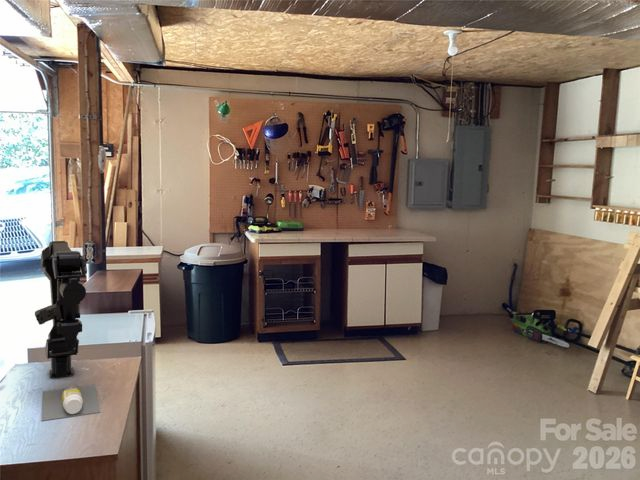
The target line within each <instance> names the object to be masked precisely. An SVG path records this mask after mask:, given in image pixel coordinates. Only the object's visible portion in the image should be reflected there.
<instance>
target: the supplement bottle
mask: <svg viewBox="0 0 640 480" xmlns="http://www.w3.org/2000/svg"><path fill="white" fill-rule="evenodd" d="M76 387H77V386H70V387H66V388H67V389H66V390H64V392H63V394H62V401H63V407H64V409H65V410H66V411H67V412H68V413H70V414H75V413H77V412H79V411H80V410H81V408H82V403H83V400H82V396H81V392H80V390H79V389H78V388H76Z"/></svg>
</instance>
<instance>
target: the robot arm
mask: <svg viewBox="0 0 640 480" xmlns="http://www.w3.org/2000/svg"><path fill="white" fill-rule="evenodd" d="M40 266H41V268H42V269H43V274H44V276H45V277H46V278H47V279H48V280H49V287H50V301H51V304H50V305H47V306H46V307H42V308H40V309H37V310H35V311H34V316H35V318H36V319H35V320H36V321H37V323H38V325H43V324H45V323H47V322H50V321H52V327H51V329H50V331H49V333H48V335H47V337H48V338H47V339H46V342H45V346H44V349H45V350H44V351H45V353H44V354H45V357H46V359H48V360H49V359H50V365H51V366H50V370H49V378H50V379H55V378H65V377H71V376H74V369H73V367H72V356H77V355H78V354H79V344H80V340H79V339H78V335H79V333H82V332H83V322H82V321H81V320H80V318H81V308H80V307H81V302H82V301H83V300H84V299H85V297H86V295H87V289H86V287H85V286H84V285H83V284H82V282H81V278H86V277H87V276H86V275H87V273H88V269H87V268H88V267H87V264H86V259H85V257H84V256H83V255H81V252H80V251H78V250H71V248H70V246H69V244H68V241H65V240H52V241H49V243H48V246H47V247H45V248H44V249H43V250H41V255H40Z"/></svg>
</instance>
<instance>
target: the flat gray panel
mask: <svg viewBox="0 0 640 480" xmlns="http://www.w3.org/2000/svg"><path fill="white" fill-rule="evenodd" d="M75 387H76V388H78V389H79V390H80V392H81V396H82V400H83V403H82V408H81V410H80V411H79V412H77V413H75V414H70V413H68V412H67V411H66V410H65V409H64V407H63V401H62V394H63V392H64V390H66V389H67V388H68V387H66V388H57V389H49V390H43V391H42V399H41V418H40V421H41V422H45V421H46V422H47V421H53V420H59V419H60V420H61V419H65V418H66V419H67V418H73V417H80V416H85V415H87V416H88V415H92V414H93V415H94V414H100V413H101V408H100V401H99V398H98V391H97V387H96V384H87V385H80V386H75Z"/></svg>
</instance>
